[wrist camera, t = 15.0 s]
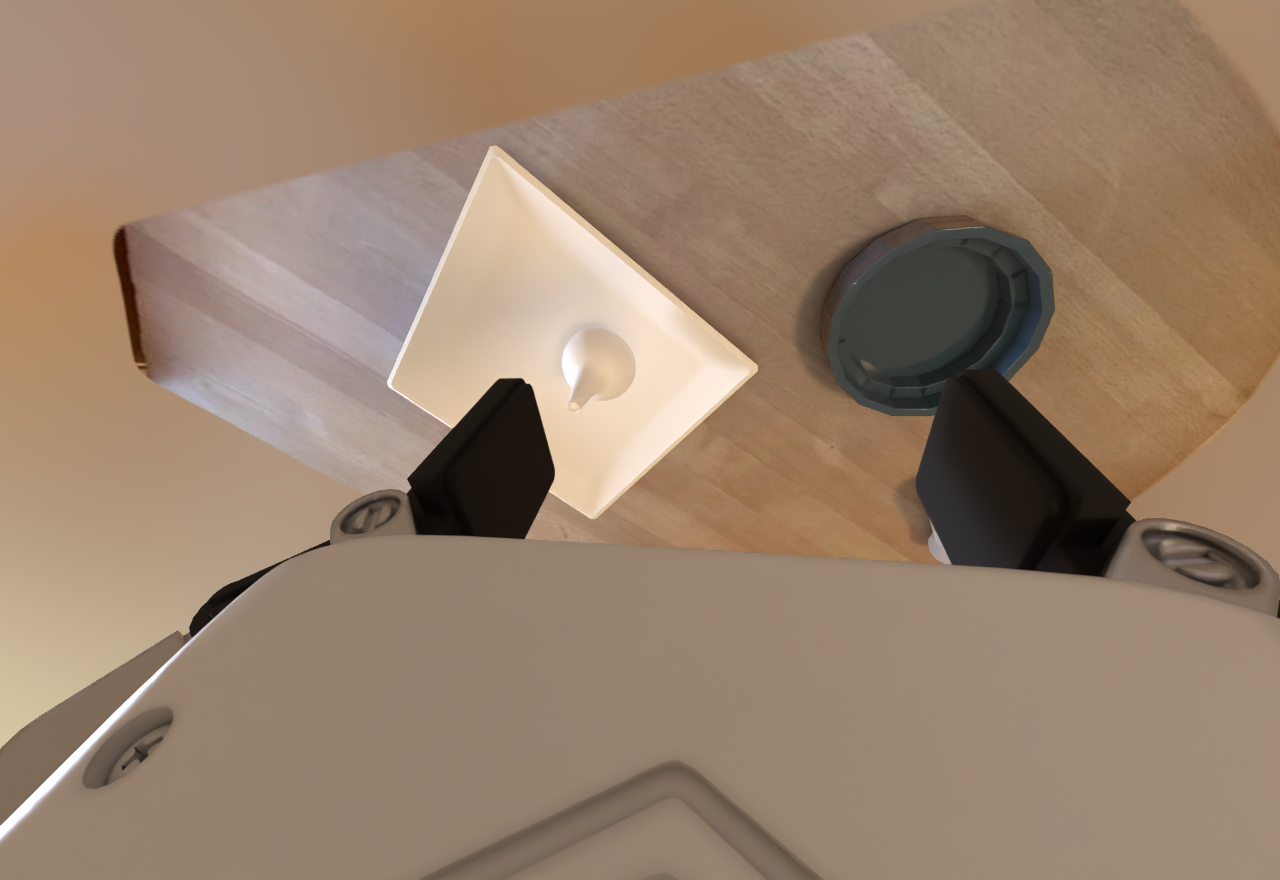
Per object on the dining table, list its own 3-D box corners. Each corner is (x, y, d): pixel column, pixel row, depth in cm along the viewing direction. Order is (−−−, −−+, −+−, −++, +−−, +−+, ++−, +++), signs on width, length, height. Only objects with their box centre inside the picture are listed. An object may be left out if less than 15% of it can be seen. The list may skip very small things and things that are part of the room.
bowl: (832, 224, 33) (842, 236, 29) (1055, 206, 30) (1094, 217, 27) (812, 392, 40) (818, 416, 37) (987, 390, 38) (1011, 416, 34)
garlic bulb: (651, 346, 38) (634, 392, 32) (620, 400, 42) (598, 451, 35) (585, 309, 37) (553, 349, 31) (558, 367, 41) (525, 414, 35)
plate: (396, 376, 47) (384, 386, 46) (503, 140, 33) (490, 141, 31) (597, 509, 54) (592, 522, 52) (760, 358, 39) (761, 369, 38)
